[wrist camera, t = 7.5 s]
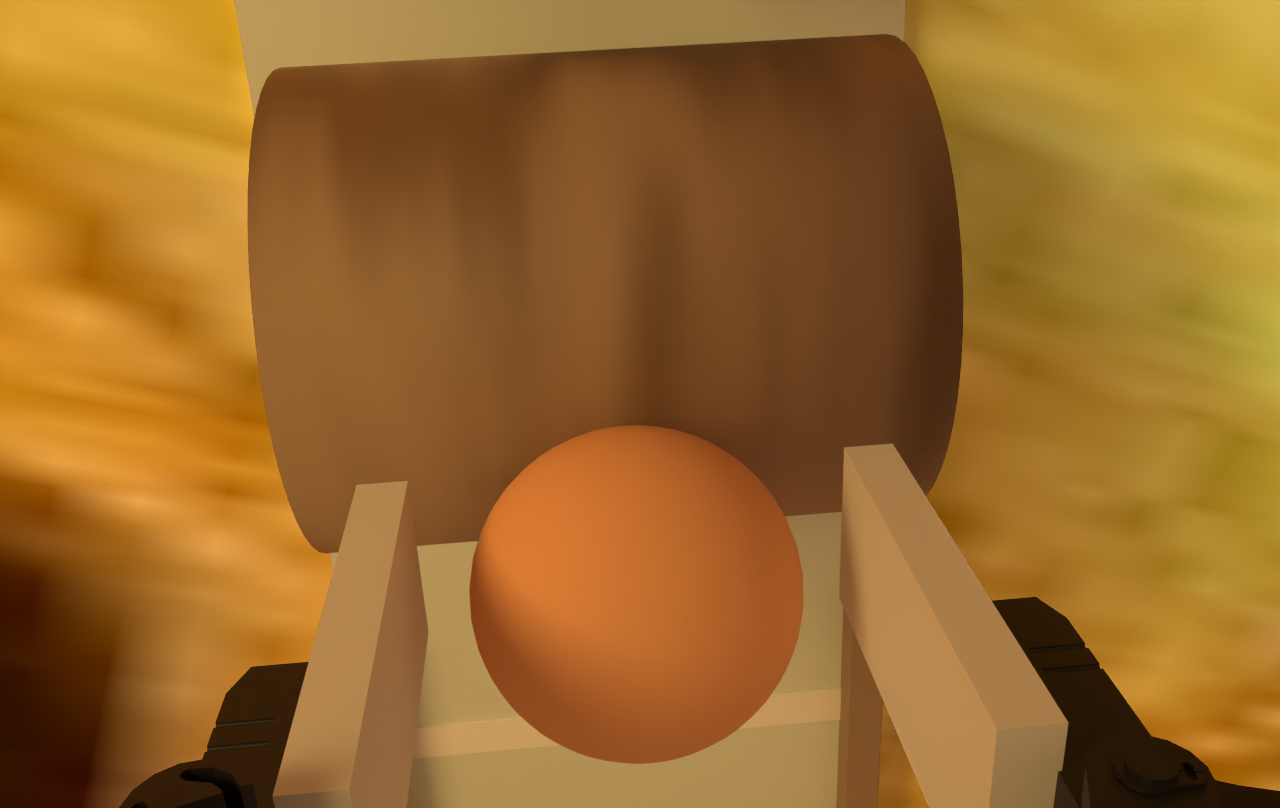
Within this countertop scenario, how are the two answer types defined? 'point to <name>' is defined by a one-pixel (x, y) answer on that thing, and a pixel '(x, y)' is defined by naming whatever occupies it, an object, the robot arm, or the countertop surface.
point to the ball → (636, 594)
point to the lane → (454, 670)
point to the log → (601, 267)
